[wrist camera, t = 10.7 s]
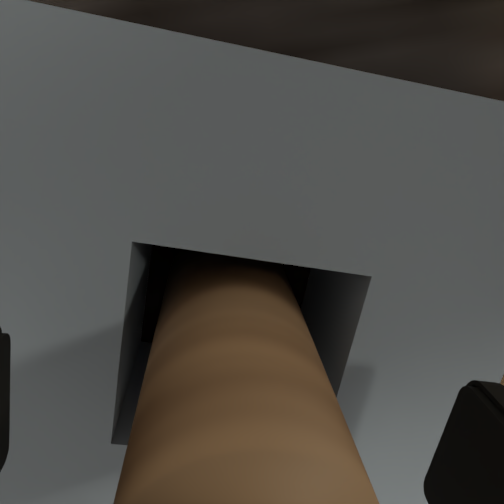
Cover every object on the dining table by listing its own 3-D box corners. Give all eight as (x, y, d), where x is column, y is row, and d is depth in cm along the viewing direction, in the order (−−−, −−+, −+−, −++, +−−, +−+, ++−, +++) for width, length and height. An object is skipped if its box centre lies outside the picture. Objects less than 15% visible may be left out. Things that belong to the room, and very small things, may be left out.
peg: (176, 217, 15) (113, 437, 5) (294, 235, 15) (426, 463, 6) (162, 324, 16) (90, 655, 7) (271, 338, 16) (349, 660, 7)
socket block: (22, 19, 12) (-94, -26, 8) (480, 113, 14) (610, 123, 10) (14, 426, 17) (-62, 554, 12) (365, 456, 19) (416, 578, 14)
